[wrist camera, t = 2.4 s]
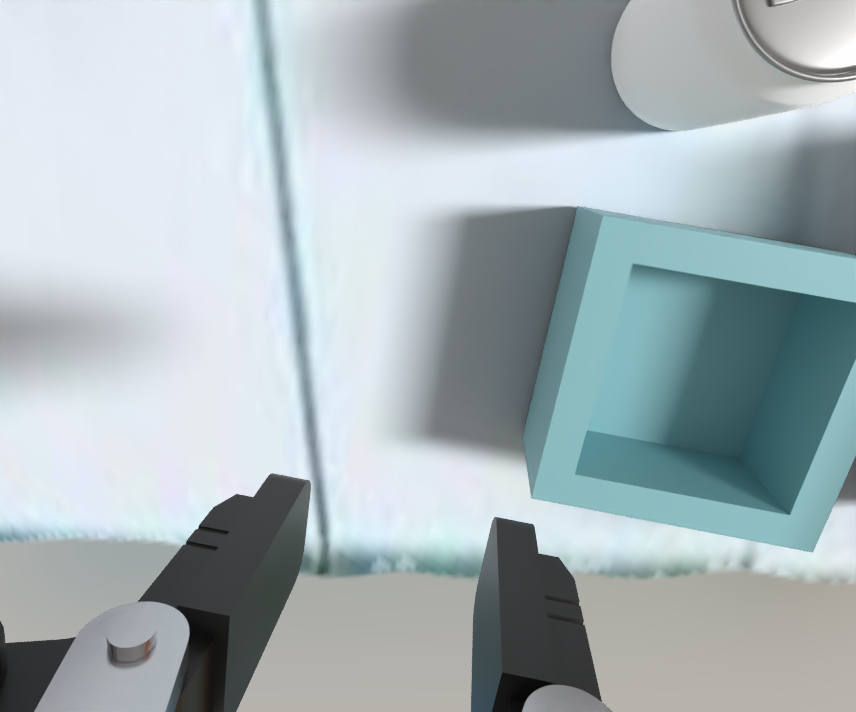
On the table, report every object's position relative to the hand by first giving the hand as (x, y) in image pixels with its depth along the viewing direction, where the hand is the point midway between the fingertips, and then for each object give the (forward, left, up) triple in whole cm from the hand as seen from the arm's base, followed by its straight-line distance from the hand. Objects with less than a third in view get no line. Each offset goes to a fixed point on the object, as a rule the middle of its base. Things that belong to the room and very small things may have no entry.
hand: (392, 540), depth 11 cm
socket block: (+11, 0, -19) cm, 22 cm away
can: (+8, +13, -19) cm, 25 cm away
